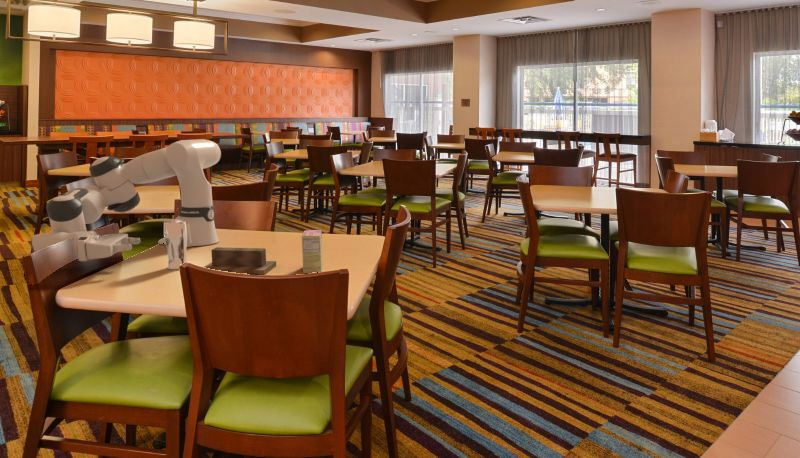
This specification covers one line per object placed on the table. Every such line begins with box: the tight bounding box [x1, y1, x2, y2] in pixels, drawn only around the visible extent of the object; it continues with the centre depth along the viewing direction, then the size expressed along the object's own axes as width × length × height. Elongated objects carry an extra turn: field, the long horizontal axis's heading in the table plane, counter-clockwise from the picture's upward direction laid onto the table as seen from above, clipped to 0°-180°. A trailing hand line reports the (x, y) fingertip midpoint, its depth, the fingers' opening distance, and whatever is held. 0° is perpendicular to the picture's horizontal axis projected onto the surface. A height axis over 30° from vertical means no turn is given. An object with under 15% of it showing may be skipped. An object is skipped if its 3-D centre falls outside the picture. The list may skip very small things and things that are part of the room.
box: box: [301, 229, 324, 274], centre depth 192 cm, size 10×6×12 cm, turn 5°
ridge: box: [203, 246, 277, 276], centre depth 192 cm, size 20×12×6 cm, turn 84°
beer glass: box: [163, 219, 188, 271], centre depth 194 cm, size 7×7×15 cm
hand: (135, 244), depth 192 cm, fingers open, 8 cm apart
